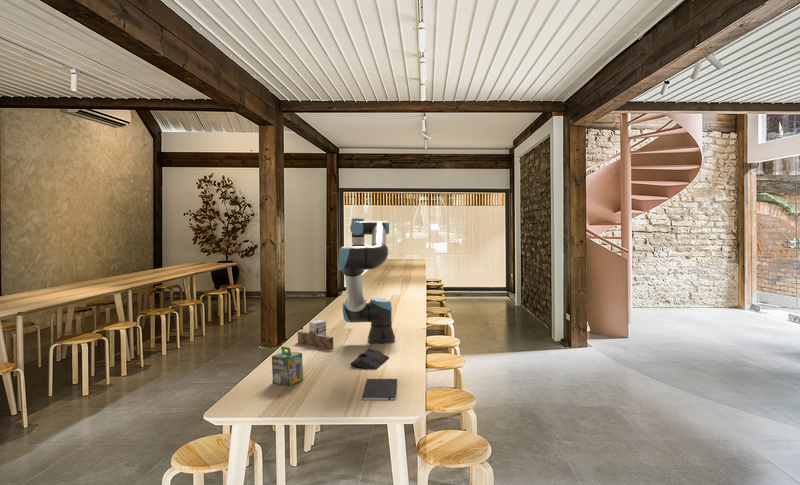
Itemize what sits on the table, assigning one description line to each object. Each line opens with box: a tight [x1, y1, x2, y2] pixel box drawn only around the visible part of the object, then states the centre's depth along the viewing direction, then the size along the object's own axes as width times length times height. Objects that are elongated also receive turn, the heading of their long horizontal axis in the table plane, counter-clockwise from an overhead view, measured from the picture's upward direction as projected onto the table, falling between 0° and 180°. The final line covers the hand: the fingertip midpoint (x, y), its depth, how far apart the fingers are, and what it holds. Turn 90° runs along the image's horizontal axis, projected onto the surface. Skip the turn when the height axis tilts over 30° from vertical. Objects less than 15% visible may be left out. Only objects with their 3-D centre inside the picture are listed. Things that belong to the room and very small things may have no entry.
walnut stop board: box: [297, 330, 334, 350], centre depth 260 cm, size 25×2×6 cm, turn 53°
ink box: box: [308, 319, 327, 336], centre depth 266 cm, size 8×5×12 cm, turn 142°
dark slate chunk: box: [350, 347, 390, 370], centre depth 228 cm, size 15×22×5 cm
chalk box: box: [271, 346, 304, 387], centre depth 201 cm, size 9×9×15 cm
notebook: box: [361, 378, 398, 401], centre depth 190 cm, size 13×2×21 cm
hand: (358, 284), depth 286 cm, fingers closed
